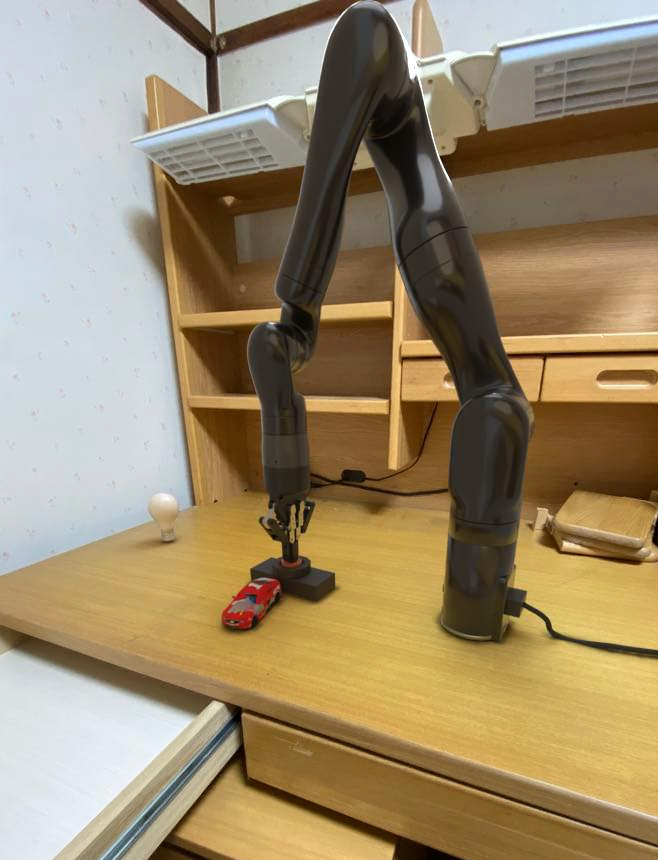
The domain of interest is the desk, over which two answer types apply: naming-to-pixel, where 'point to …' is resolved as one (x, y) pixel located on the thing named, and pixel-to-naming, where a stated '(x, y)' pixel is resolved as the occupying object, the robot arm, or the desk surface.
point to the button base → (296, 578)
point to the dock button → (288, 564)
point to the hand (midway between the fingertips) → (291, 560)
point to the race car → (252, 603)
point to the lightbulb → (164, 513)
